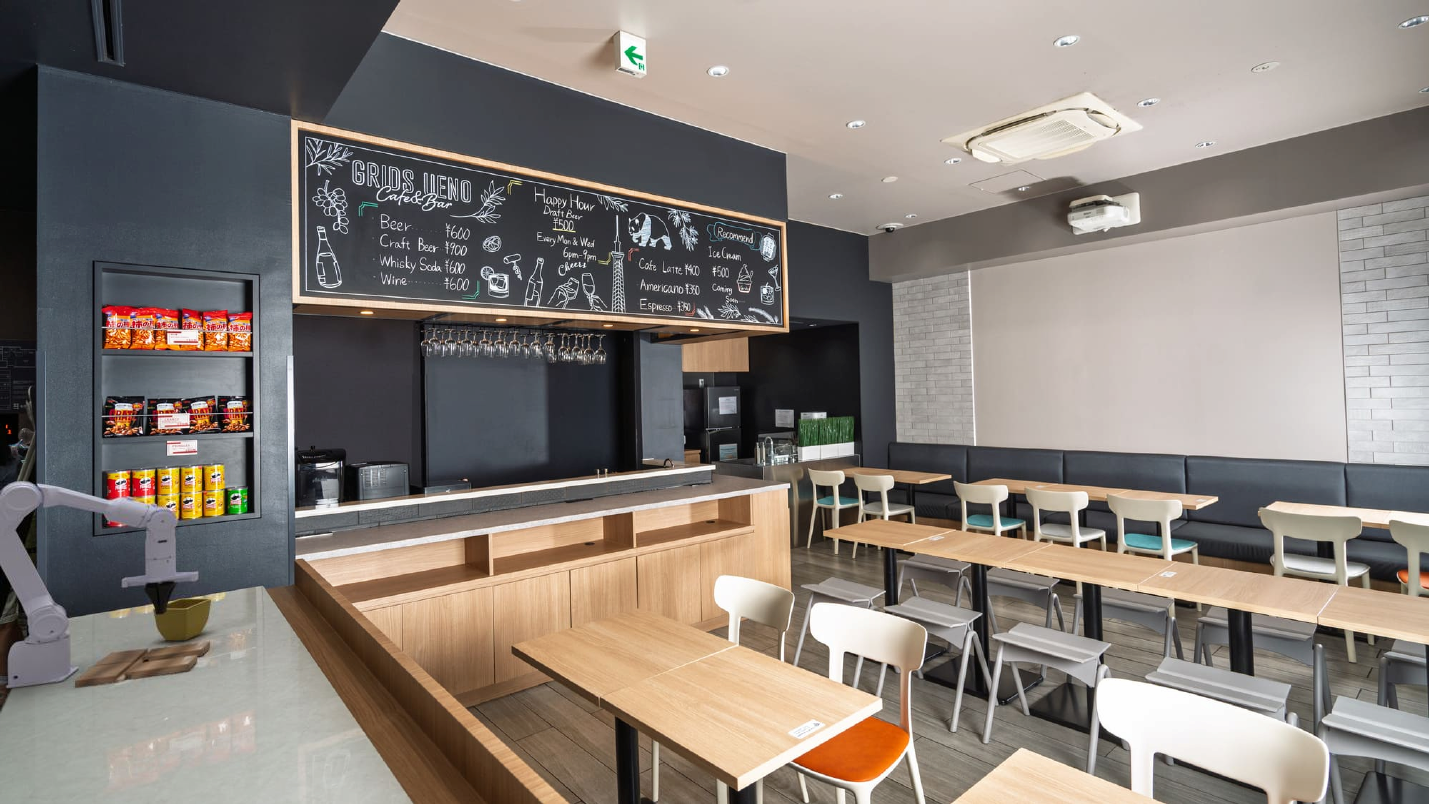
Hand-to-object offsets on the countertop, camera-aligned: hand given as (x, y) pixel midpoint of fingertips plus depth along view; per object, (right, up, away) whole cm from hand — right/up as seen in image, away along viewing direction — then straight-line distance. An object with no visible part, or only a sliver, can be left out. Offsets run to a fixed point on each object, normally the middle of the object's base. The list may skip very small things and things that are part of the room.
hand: (161, 613), depth 166 cm
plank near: (+9, -10, -10) cm, 17 cm away
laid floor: (-2, -10, -10) cm, 14 cm away
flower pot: (-4, -10, +11) cm, 16 cm away
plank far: (+5, -10, -1) cm, 11 cm away
